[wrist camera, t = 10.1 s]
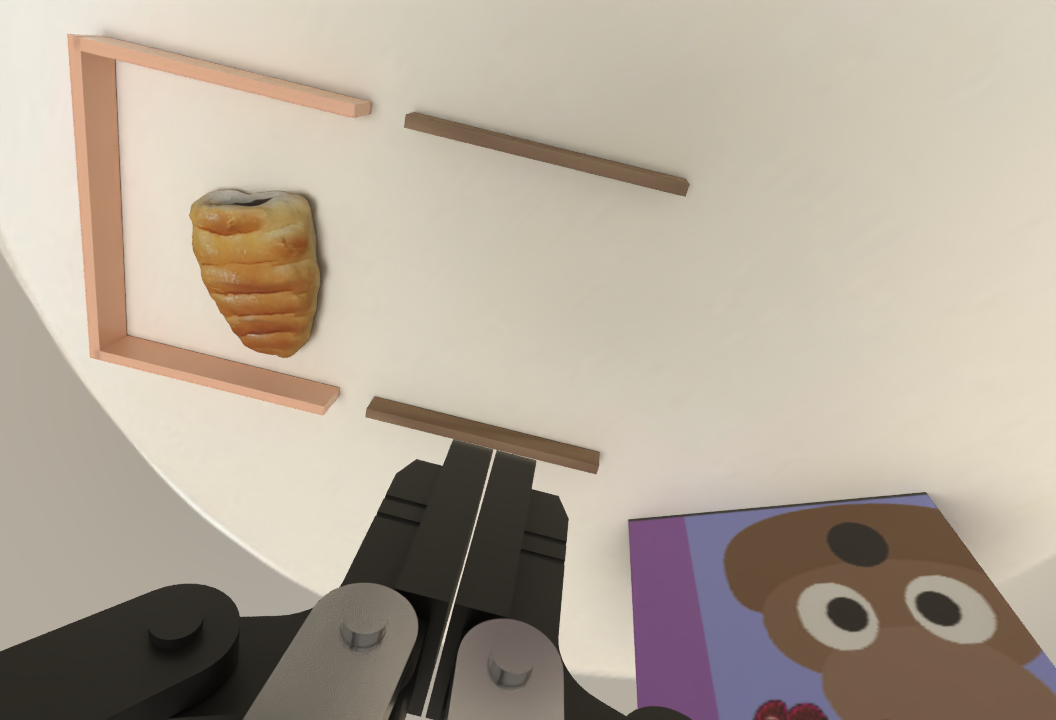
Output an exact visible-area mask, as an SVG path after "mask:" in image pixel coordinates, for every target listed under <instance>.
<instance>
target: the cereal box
mask: <svg viewBox="0 0 1056 720" xmlns="http://www.w3.org/2000/svg"><path fill="white" fill-rule="evenodd" d="M628 522H629V542H630V563H631V583H632V603H633V623H634V644H635V664H636V683H637V704H638V709H639V708H642V707H647V706H661V707H666V708H670V709H673V710H675V711H678V712H680V713H682V714H684V715H686V716H688V717H689V718H691V719H692V720H1056V668H1055V667H1054V665H1053V664H1052V663H1051V661H1050V660H1049V658H1048V657H1047V656H1046V654H1045V653H1044V652H1043V650H1042V649H1041V648H1040V646H1039V645H1038V644H1037V642H1036V641H1035V640H1034V638H1033V637H1032V635H1031V634H1030V633H1029V632H1028V630H1027V629H1026V627H1025V626H1024V625H1023V624H1022V622H1021V621H1020V619H1019V618H1018V616H1017V615H1016V614H1015V612H1014V611H1013V610H1012V608H1011V607H1010V606H1009V604H1008V603H1007V602H1006V600H1005V599H1004V598H1003V596H1002V595H1001V594H1000V592H999V591H998V589H997V588H996V587H995V585H994V584H993V583H992V581H991V580H990V579H989V577H988V576H987V574H986V573H985V572H984V570H983V569H982V568H981V566H980V565H979V564H978V562H977V561H976V560H975V558H974V557H973V556H972V554H971V553H970V551H969V550H968V549H967V547H966V546H965V545H964V543H963V542H962V541H961V539H960V538H959V537H958V535H957V534H956V533H955V531H954V530H953V528H952V527H951V526H950V524H949V523H948V522H947V520H946V519H945V518H944V516H943V515H942V514H941V512H940V511H939V509H938V508H937V507H936V505H935V504H934V503H933V501H932V500H931V499H930V497H929V496H928V495H927V493H926V492H923V493H912V494H901V495H891V496H880V497H869V498H858V499H847V500H836V501H825V502H814V503H804V504H793V505H782V506H771V507H760V508H749V509H738V510H727V511H717V512H706V513H695V514H684V515H673V516H662V517H651V518H641V519H630V520H628Z"/></svg>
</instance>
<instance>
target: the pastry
mask: <svg viewBox="0 0 1056 720" xmlns="http://www.w3.org/2000/svg"><path fill="white" fill-rule="evenodd" d="M311 213H312V212H311V208H310V205H309V202H308V201H307V200H306V199H305V198H304V197H302V196H301V195H297V194H293V195H291V194H290V193H288V192H282V191H269V192H260V193H254V194H249V195H248V194H245V193H242V192H239V191H236V190H216V191H213V192H210V193H208V194H206V195H204V196H203V197H201V198H200V199H198V200H197V201H195V202H194V203H193V204H192V206H191V211H190V214H189V216H190V219H191V220H192V223H193V235H192V239H193V240H192V245H193V252H194V254H195V256H196V258H197V261H198V263H199V265H200V268H201V276H202V280H203V282H204V284H205V286H206V287H207V289H208V292H209V294H210V296H211V297H212V298H213V299H214V300H215V302H216V304H217V307H218V308H219V310H220V313H222V314H223V315H224V317H225V319H226V321H227V322H228V323H229V325H230V327H231V329H232V331H233V332H234V333H235V334H236V335H237V336H238V337H239V338H240V340H241V341H242V343H243V344H244V345H245V346H246V347H248V348H250V349H252V350H254V351H256V352H260V353H265V354H270V355H277V356H279V357H282V358H288V357H291V356H292V355H294V354H295V353H296V352H297V351H298V350H299V349H300V348H301V347H302V346H303V345H304V344H305V343H306V342H307V341H308V340H309V338H310V335H311V327H312V324H313V316H314V314H315V312H316V310H317V304H316V303H317V294H318V290H319V288H320V285H321V280H320V270H319V267H318V262H317V250H316V246H317V241H316V235H315V229H314V221H313V218H312V215H311Z"/></svg>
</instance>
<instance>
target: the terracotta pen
mask: <svg viewBox="0 0 1056 720" xmlns="http://www.w3.org/2000/svg"><path fill="white" fill-rule="evenodd" d="M67 37H68V51H69V66H70V80H71V94H72V108H73V122H74V136H75V150H76V164H77V179H78V193H79V207H80V221H81V235H82V249H83V263H84V277H85V291H86V306H87V320H88V334H89V348H90V358H94V359H98V360H102V361H106V362H110V363H114V364H118V365H122V366H126V367H130V368H134V369H138V370H142V371H146V372H150V373H154V374H158V375H162V376H166V377H170V378H174V379H178V380H182V381H186V382H190V383H195V384H199V385H203V386H207V387H211V388H215V389H219V390H223V391H227V392H231V393H235V394H239V395H243V396H247V397H251V398H255V399H259V400H263V401H267V402H271V403H275V404H279V405H283V406H287V407H291V408H295V409H299V410H303V411H307V412H311V413H315V414H319V415H324V414H325V413H326V412H327V410H328V409H329V408H330V406H331V405H332V404H333V403H334V401H335V400H336V399H337V398H338V396H339V388H338V387H334V386H330V385H326V384H322V383H318V382H314V381H310V380H306V379H302V378H298V377H294V376H290V375H286V374H281V373H277V372H273V371H269V370H265V369H261V368H257V367H253V366H249V365H245V364H241V363H237V362H233V361H229V360H225V359H221V358H217V357H213V356H209V355H205V354H201V353H197V352H193V351H189V350H185V349H181V348H177V347H173V346H169V345H165V344H160V343H156V342H152V341H148V340H144V339H140V338H136V337H132V336H128V335H127V327H126V304H125V281H124V258H123V235H122V212H121V189H120V167H119V144H118V121H117V98H116V75H115V59H116V60H120V61H124V62H128V63H132V64H136V65H140V66H144V67H148V68H152V69H156V70H160V71H164V72H168V73H172V74H176V75H181V76H185V77H189V78H193V79H197V80H201V81H205V82H209V83H213V84H217V85H221V86H225V87H229V88H233V89H237V90H241V91H246V92H250V93H254V94H258V95H262V96H266V97H270V98H274V99H278V100H282V101H286V102H290V103H294V104H298V105H302V106H306V107H311V108H315V109H319V110H323V111H327V112H331V113H335V114H339V115H343V116H347V117H351V118H356V117H360V116H365V115H369V114H370V109H371V102H370V101H366V100H362V99H358V98H354V97H350V96H346V95H342V94H338V93H334V92H329V91H325V90H321V89H317V88H313V87H309V86H305V85H301V84H297V83H293V82H289V81H285V80H281V79H277V78H273V77H268V76H264V75H260V74H256V73H252V72H248V71H244V70H240V69H236V68H232V67H228V66H224V65H220V64H216V63H212V62H208V61H203V60H199V59H195V58H191V57H187V56H183V55H179V54H175V53H171V52H167V51H163V50H159V49H155V48H151V47H147V46H142V45H138V44H134V43H130V42H126V41H122V40H118V39H114V38H110V37H106V36H100V35H77V34H67Z"/></svg>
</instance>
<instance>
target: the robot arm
mask: <svg viewBox="0 0 1056 720" xmlns="http://www.w3.org/2000/svg"><path fill="white" fill-rule="evenodd" d="M492 453H493V449H490V448H486V447H482V446H478V445H475V444H471V443H467V442H463V441H459V440H456V439H454V440H453V441H452V444H451V446H450V449H449V451H448V454H447V457H446V459H445V462H444V464H443V466H441V465H437V464H433V463H429V462H425V461H421V460H418V459H416V460H415V461H413V462H412V463H411V464H409V465H408V466H406V467H405V468H404V469H402V470H401V471H399V472H398V473H397V474H396V475H395V477H394V479H393V481H392V483H391V485H390V487H389V489H388V491H387V493H386V496H385V499H383V501H382V504H381V506H380V508H379V510H378V512H377V515H376V516H375V518H374V520H373V522H372V524H371V526H370V528H369V530H368V532H367V534H366V536H365V538H364V540H363V542H362V544H361V546H360V548H359V550H358V552H357V554H356V556H355V558H354V560H353V562H352V564H351V567H350V569H349V571H348V573H347V575H346V577H345V579H344V581H343V582H342V584H341V586H340V587H339V588H337V589H335V590H332V591H331V592H329V593H328V594H326V595H325V596H324V597H323V598H321V599H320V600H319V601H318V603H317V604H316V605H315V606H314V607H313V608H311V609H309V610H306V611H303V612H300V613H296V614H291V615H283V616H259V617H240V616H239V611H238V609H237V607H236V605H235V603H234V602H233V601H232V600H231V598H230V597H229V596H227V595H226V594H225V593H223V592H221V591H220V590H218V589H216V588H213V587H209V586H206V585H200V584H178V585H172V586H167V587H163V588H160V589H157V590H154V591H151V592H149V593H146V594H144V595H141V596H139V597H136V598H134V599H131V600H129V601H126V602H124V603H121V604H119V605H116V606H114V607H111V608H109V609H106V610H104V611H101V612H99V613H96V614H94V615H91V616H89V617H86V618H83V619H81V620H78V621H76V622H73V623H71V624H68V625H66V626H63V627H61V628H58V629H56V630H53V631H51V632H48V633H46V634H43V635H41V636H38V637H35V638H33V639H30V640H28V641H26V642H23V643H20V644H18V645H15V646H13V647H10V648H8V649H5V650H3V651H0V720H405V718H406V714H407V713H409V714H412V715H417V716H421V714H422V711H423V707H424V704H425V700H426V697H427V693H428V689H429V686H430V682H431V679H432V675H433V671H434V668H435V664H436V660H437V657H438V654H439V650H440V646H441V643H442V639H443V636H444V632H445V629H446V625H447V621H448V618H449V614H450V611H451V607H452V603H453V600H454V596H455V593H456V589H457V586H458V582H459V578H460V575H461V571H462V568H463V564H464V560H465V557H466V553H467V550H468V546H469V542H470V539H471V535H472V531H473V527H474V524H475V520H476V516H477V512H478V508H479V504H480V500H481V496H482V492H483V488H484V484H485V480H486V476H487V473H488V469H489V465H490V461H491V457H492ZM535 466H536V460H533V459H529V458H525V457H521V456H517V455H514V454H510V453H506V452H502V451H498V450H497V451H496V455H495V458H494V462H493V466H492V469H491V473H490V477H489V480H488V484H487V488H486V491H485V495H484V498H483V502H482V506H481V509H480V513H479V517H478V520H477V524H476V527H475V531H474V535H473V538H472V542H471V546H470V549H469V553H468V557H467V560H466V564H465V567H464V571H463V575H462V578H461V582H460V586H459V589H458V593H457V596H456V600H455V604H454V608H453V612H452V616H451V619H450V623H449V627H448V631H447V635H446V639H445V643H444V647H443V651H442V655H441V659H440V663H439V667H438V671H437V675H436V678H435V682H434V686H433V690H432V694H431V698H430V702H429V706H428V710H427V714H426V718H429V719H433V720H692V719H691V718H689V717H688V716H686V715H684V714H682V713H680V712H678V711H675V710H673V709H670V708H666V707H661V706H647V707H642V708H639V709H637V710H634V711H633V712H631V713H630V714H628V715H627V716H625V715H623V714H621V713H620V712H618V711H616V710H615V709H613V708H611V707H610V706H608V705H606V704H605V703H603V702H601V701H600V700H598V699H597V698H595V697H594V696H592V695H590V694H589V693H588V692H587V691H586V690H584V689H583V688H582V687H581V686H580V685H579V684H578V683H577V682H576V681H575V680H574V678H573V677H572V676H571V674H570V673H569V671H568V670H567V668H566V666H565V664H564V662H563V660H562V657H561V654H560V650H559V645H558V635H559V623H560V612H561V600H562V589H563V577H564V566H565V565H564V562H565V554H566V542H567V531H568V520H569V519H568V516H567V514H566V512H565V510H564V507H563V505H562V503H561V501H560V498H559V496H556V495H552V494H548V493H545V492H541V491H537V490H533V489H532V483H533V477H534V472H535Z"/></svg>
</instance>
